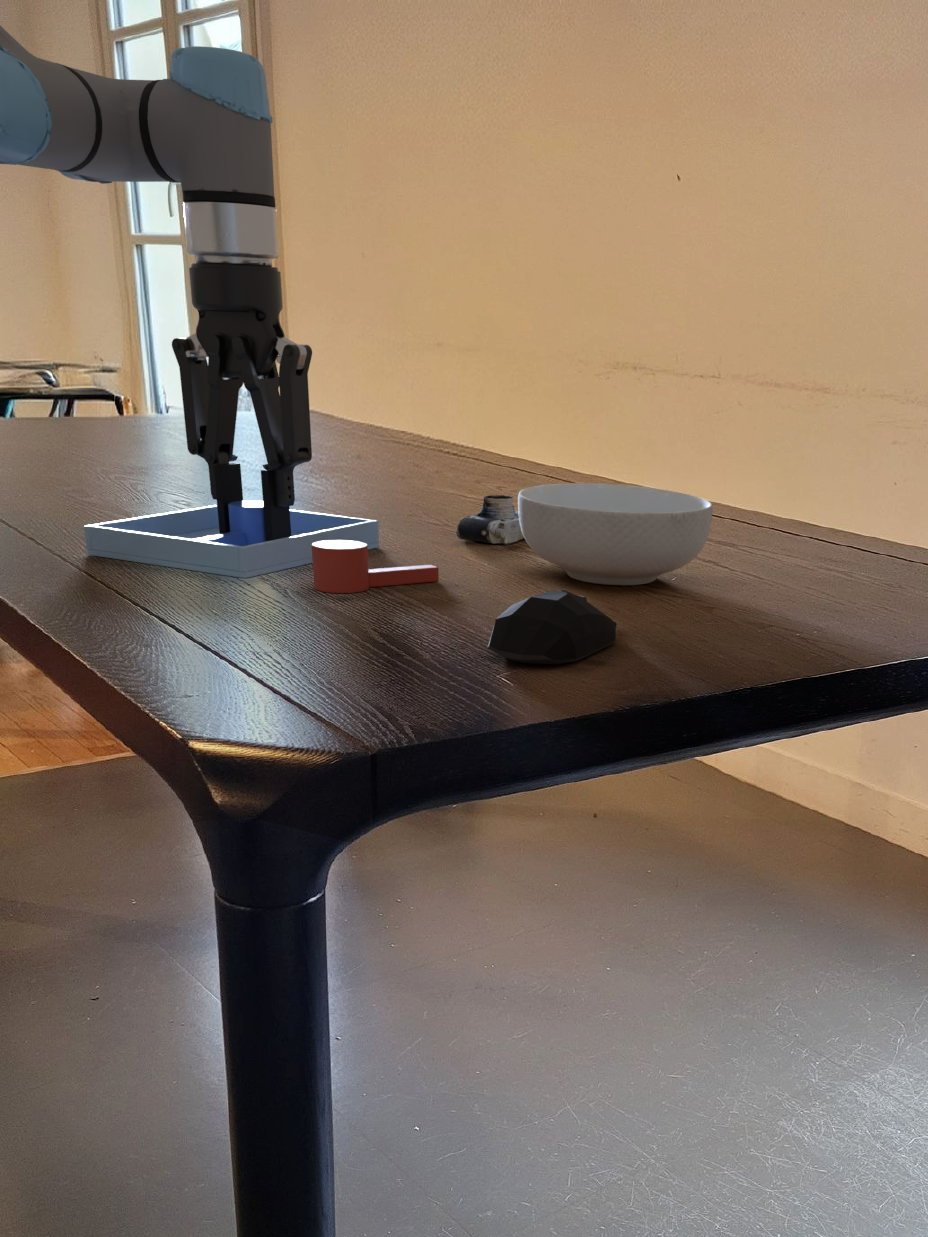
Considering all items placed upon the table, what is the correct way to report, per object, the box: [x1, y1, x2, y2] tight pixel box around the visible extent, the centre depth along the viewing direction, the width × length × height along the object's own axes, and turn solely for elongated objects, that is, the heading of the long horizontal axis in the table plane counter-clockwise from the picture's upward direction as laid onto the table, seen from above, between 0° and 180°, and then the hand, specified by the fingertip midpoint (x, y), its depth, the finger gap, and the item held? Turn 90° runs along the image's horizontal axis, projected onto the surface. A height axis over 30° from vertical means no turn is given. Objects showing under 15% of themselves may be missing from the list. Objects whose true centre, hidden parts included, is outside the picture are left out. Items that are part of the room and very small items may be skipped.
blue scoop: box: [193, 499, 266, 546], centre depth 116 cm, size 11×4×4 cm, turn 156°
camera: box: [455, 494, 525, 545], centre depth 131 cm, size 5×10×4 cm, turn 152°
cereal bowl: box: [517, 482, 714, 586], centre depth 114 cm, size 17×17×7 cm
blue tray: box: [83, 504, 380, 579], centre depth 118 cm, size 17×19×2 cm
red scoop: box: [312, 540, 440, 594], centre depth 106 cm, size 11×4×4 cm, turn 126°
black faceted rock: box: [487, 589, 617, 665], centre depth 90 cm, size 6×15×4 cm, turn 154°
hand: (255, 539), depth 119 cm, fingers open, 5 cm apart
